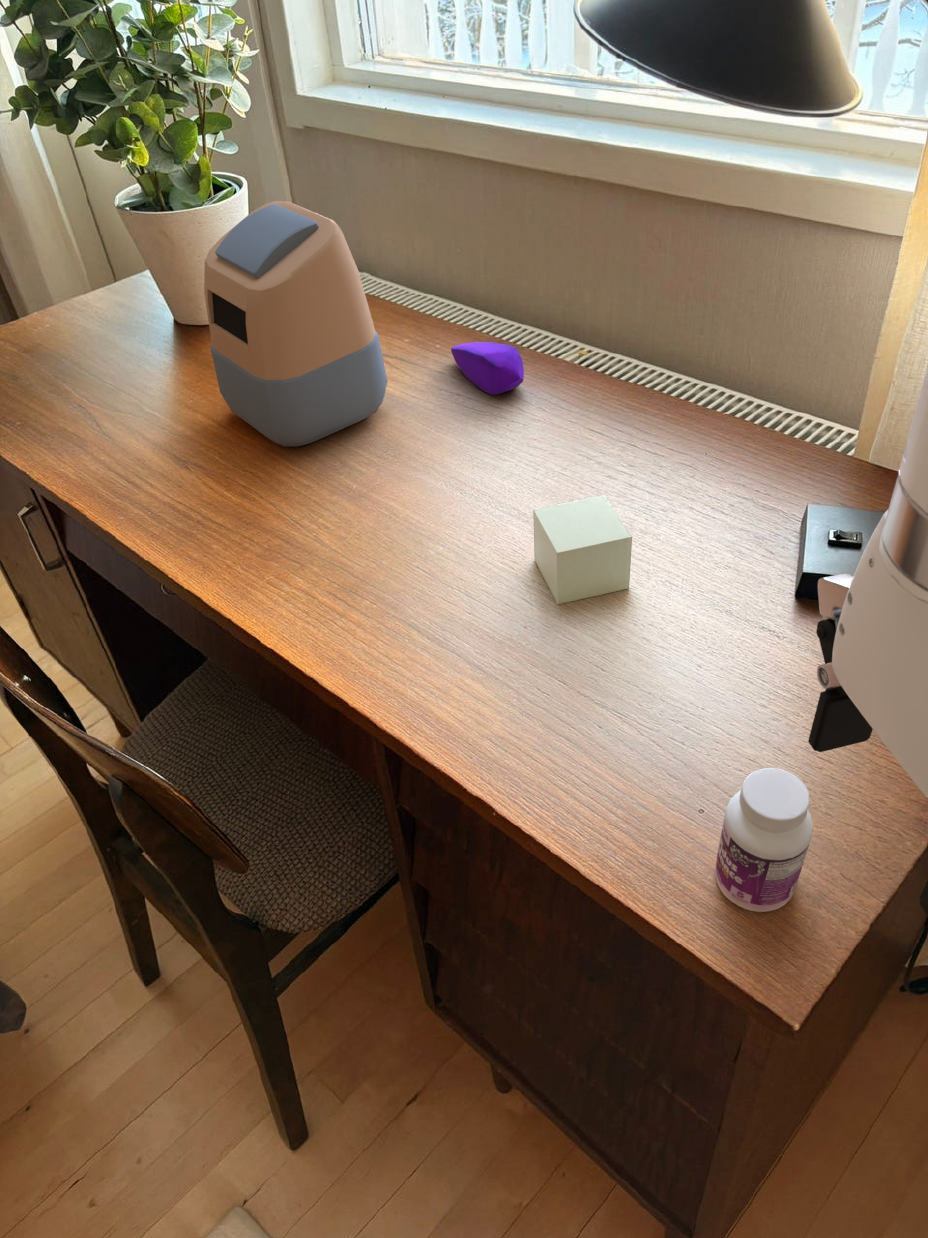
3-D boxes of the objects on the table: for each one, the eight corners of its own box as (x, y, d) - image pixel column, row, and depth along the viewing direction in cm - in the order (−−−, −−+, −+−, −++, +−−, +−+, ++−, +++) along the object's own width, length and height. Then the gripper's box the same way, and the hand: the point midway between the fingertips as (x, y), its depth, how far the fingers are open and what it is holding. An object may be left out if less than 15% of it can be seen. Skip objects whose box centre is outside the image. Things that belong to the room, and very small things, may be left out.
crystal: (464, 325, 123) (536, 352, 112) (469, 361, 125) (539, 391, 115) (434, 336, 121) (503, 365, 110) (439, 372, 124) (508, 404, 113)
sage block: (629, 588, 87) (632, 536, 83) (557, 604, 86) (557, 552, 82) (602, 545, 92) (604, 494, 88) (534, 559, 91) (532, 509, 87)
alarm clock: (216, 414, 117) (164, 224, 102) (329, 368, 125) (295, 184, 109) (285, 466, 107) (237, 263, 92) (403, 412, 114) (377, 216, 99)
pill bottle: (697, 865, 65) (711, 777, 58) (760, 835, 66) (781, 745, 60) (746, 929, 61) (768, 842, 55) (812, 895, 63) (840, 807, 56)
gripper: (1299, 668, 28) (1089, 958, 40) (946, 400, 41) (864, 677, 52) (1076, 724, 27) (926, 1004, 39) (786, 431, 40) (738, 707, 51)
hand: (891, 816), depth 45 cm, fingers open, 9 cm apart
